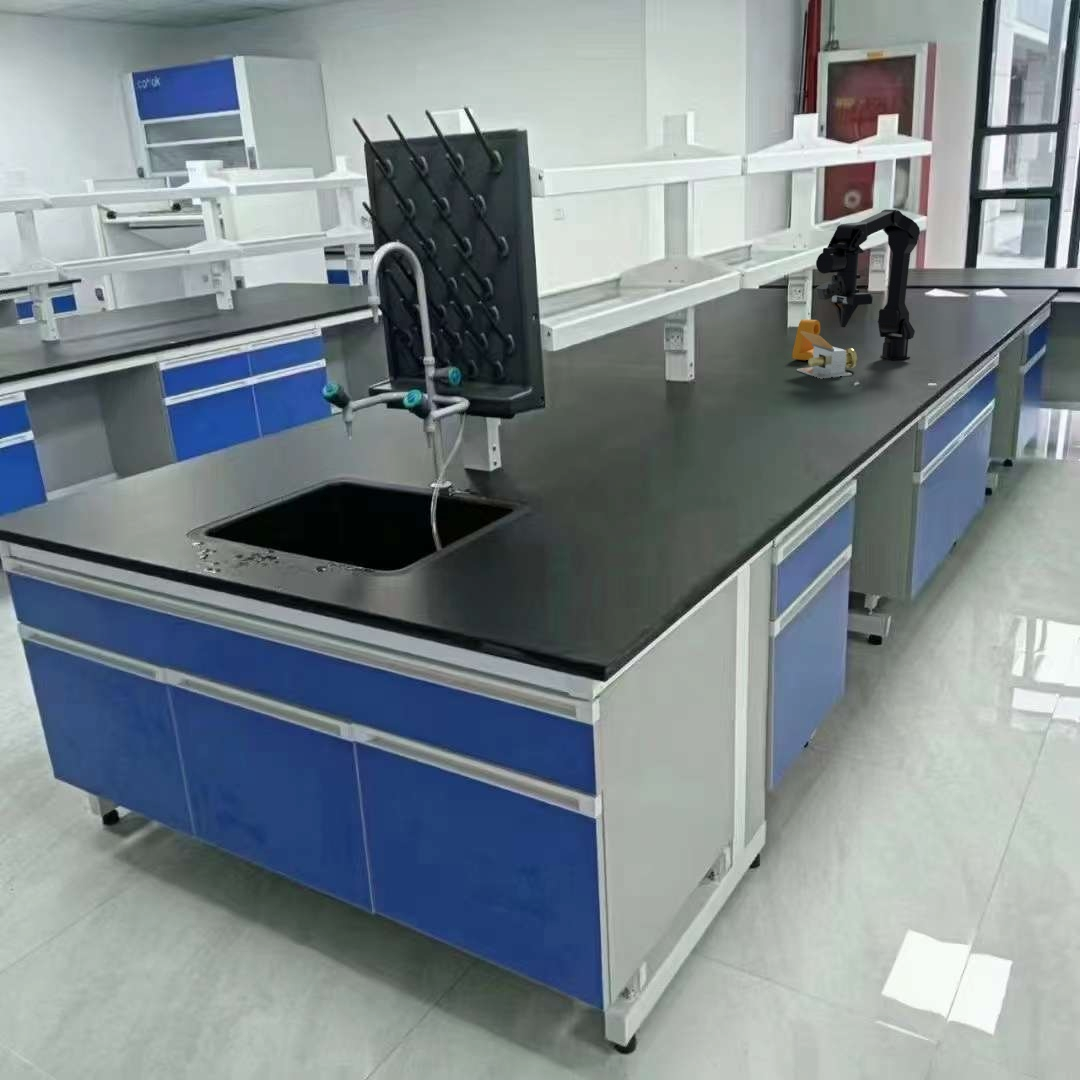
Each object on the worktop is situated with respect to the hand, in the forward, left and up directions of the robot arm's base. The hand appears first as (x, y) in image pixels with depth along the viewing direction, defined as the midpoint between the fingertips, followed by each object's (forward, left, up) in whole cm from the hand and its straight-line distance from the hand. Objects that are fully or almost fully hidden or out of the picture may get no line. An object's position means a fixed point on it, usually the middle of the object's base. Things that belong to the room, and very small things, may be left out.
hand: (842, 327), depth 296 cm
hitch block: (+5, 0, -13) cm, 14 cm away
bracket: (-3, -20, -13) cm, 24 cm away
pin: (+3, 0, -12) cm, 12 cm away
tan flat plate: (+8, 0, -4) cm, 9 cm away
